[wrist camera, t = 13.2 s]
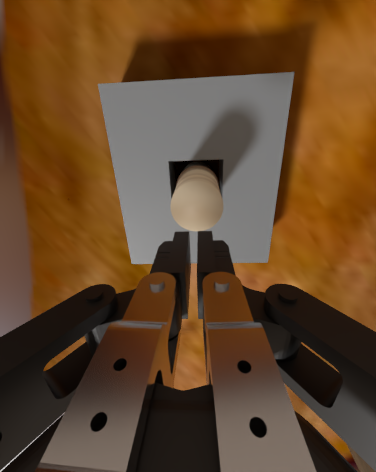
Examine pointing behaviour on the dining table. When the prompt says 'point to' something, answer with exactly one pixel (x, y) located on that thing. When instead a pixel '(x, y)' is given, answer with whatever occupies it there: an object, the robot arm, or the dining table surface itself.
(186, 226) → the peg
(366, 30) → the dining table surface
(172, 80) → the socket block
